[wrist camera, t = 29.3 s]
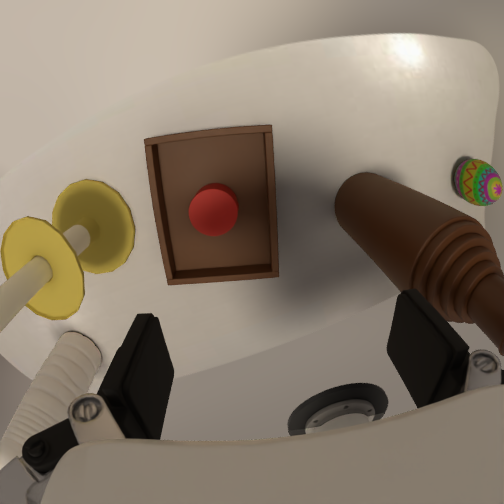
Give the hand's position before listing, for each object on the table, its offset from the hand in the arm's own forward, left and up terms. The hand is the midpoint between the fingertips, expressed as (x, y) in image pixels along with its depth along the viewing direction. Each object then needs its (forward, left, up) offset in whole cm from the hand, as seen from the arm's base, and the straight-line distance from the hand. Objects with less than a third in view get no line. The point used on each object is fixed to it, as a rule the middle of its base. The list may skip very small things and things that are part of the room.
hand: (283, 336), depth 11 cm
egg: (+3, -23, -17) cm, 29 cm away
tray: (+1, +4, -17) cm, 18 cm away
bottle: (0, -10, -17) cm, 20 cm away
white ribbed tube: (-15, +25, -17) cm, 34 cm away
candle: (0, +17, -17) cm, 24 cm away
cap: (+1, +3, -17) cm, 17 cm away
